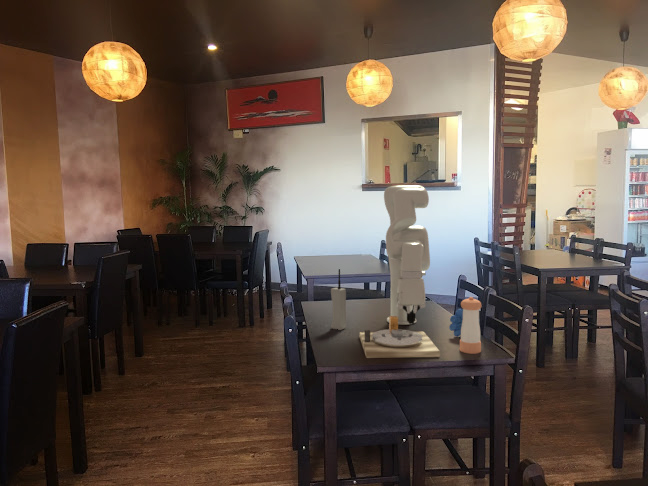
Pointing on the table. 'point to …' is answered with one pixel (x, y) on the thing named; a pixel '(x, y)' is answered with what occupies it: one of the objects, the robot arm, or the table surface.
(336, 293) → the vintage mobile phone
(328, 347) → the table surface
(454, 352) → the table surface
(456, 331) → the grapes
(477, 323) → the pepper shaker
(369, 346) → the base board
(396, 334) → the flange
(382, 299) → the table surface
